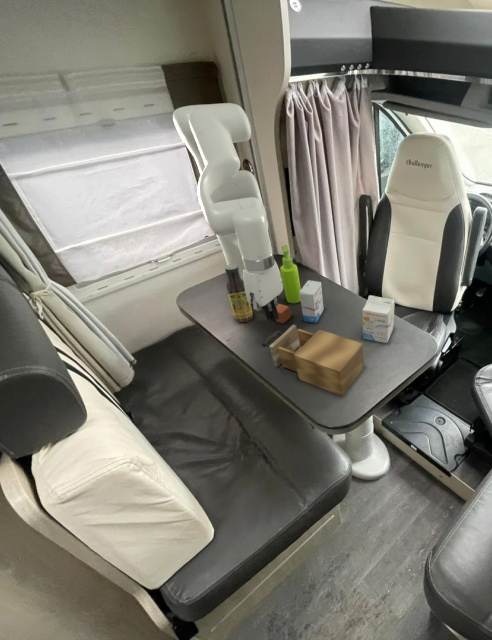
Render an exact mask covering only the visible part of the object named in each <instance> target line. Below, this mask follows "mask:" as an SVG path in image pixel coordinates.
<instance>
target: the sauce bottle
mask: <svg viewBox="0 0 492 640" xmlns="http://www.w3.org/2000/svg"><path fill="white" fill-rule="evenodd" d="M224 270H225V273H226V276H227V283H226V286H225V287H226V290H227V295H228V299H229V303H230V306H231V311H232V313H233V316H234V319H235V321H236V322H239V323H246V322H249V321H252V319H253V316H254V314H253V307H252V304H250V303H249V302H248V300H247V296H246V292H245V287H244V281H243V280H242V279H241V278H240V275H239V268H238V265H236V264H228V265H227V264H226V265H225V266H224Z"/></svg>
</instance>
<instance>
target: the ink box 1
mask: <svg viewBox="0 0 492 640" xmlns="http://www.w3.org/2000/svg"><path fill="white" fill-rule="evenodd" d="M323 298H324V297H323V288H322V282H321V281H315V280H307V281H306V282H305V284H304V285H303V286H302V288H301V290H300V300H301V301H300V307H301V313H302V319H303V322H306V323H315V324H316V323H318V322H319V321H318V320H319V319H320V317H321V316H322V314H323V311H325V310H324V309H325V308H324V299H323Z"/></svg>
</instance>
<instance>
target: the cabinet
mask: <svg viewBox="0 0 492 640" xmlns="http://www.w3.org/2000/svg"><path fill="white" fill-rule="evenodd" d="M313 334H314V335H313V336H312V337H311V338H310V339H309V340H308V341H307V342H306V343H305V344H304V345H303V346H302V347H301V348H300V349H299V350H298V351H297V352H296V353H295V354H294V358H295V363H296V367H297V372H296V373H297V376H298V380H300V381H302V382H305V383H307V384H310V385H312V386H315V387H318V388H320V389H323V390H325V391H327V392H331V393H333V394H336V395H338V396H341V397H343V396H344V395H345V393H346V392H347V391H348V389H349V388H350V386H351V385H352V384H353V383H354V381H355V380H356V378H357V377H358V376H359V374H361V371H363V370H364V348H363V347H364V346H363V345H364V343H362V342H358V341H356V340H353V339H349V338H346V337H343V336H341V335H337V334H334V333H331V332H329V331H325V330H323V329H318V330H317V331H316V332H315V333H313Z"/></svg>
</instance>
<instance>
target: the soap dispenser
mask: <svg viewBox="0 0 492 640" xmlns="http://www.w3.org/2000/svg"><path fill="white" fill-rule="evenodd" d="M281 249H282V253H283V257H282V258H281V259H282V265H281V266H280V268H279V271H280V274H281V278H282V283H283V290H284V295H285V299H286V302H287V303H289V304H297V303H301V300H300V290H301V289H302V288H301V287H302V286H301V281H300V276H299V270H298V265H297V264H295V263H294V261H293V256H290V254H289V253H290V251H289V247H288V245H287V244H285V245H281Z"/></svg>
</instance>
